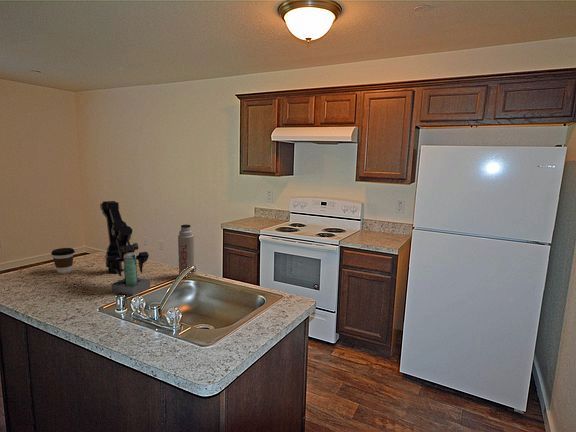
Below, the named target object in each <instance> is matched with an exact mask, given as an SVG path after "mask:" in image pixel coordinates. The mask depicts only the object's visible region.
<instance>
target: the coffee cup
mask: <svg viewBox="0 0 576 432" xmlns="http://www.w3.org/2000/svg"><path fill="white" fill-rule="evenodd" d="M75 252H76V251H75V250H74V248H72V247H61V248H55V249H53V250H52V251H51V253H50V254H51V256H52V258H53V262H54V266H55V268H56V272H57V273H59V274H67V273H70V272H71V271H72V269H73V263H74V254H75Z"/></svg>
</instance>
